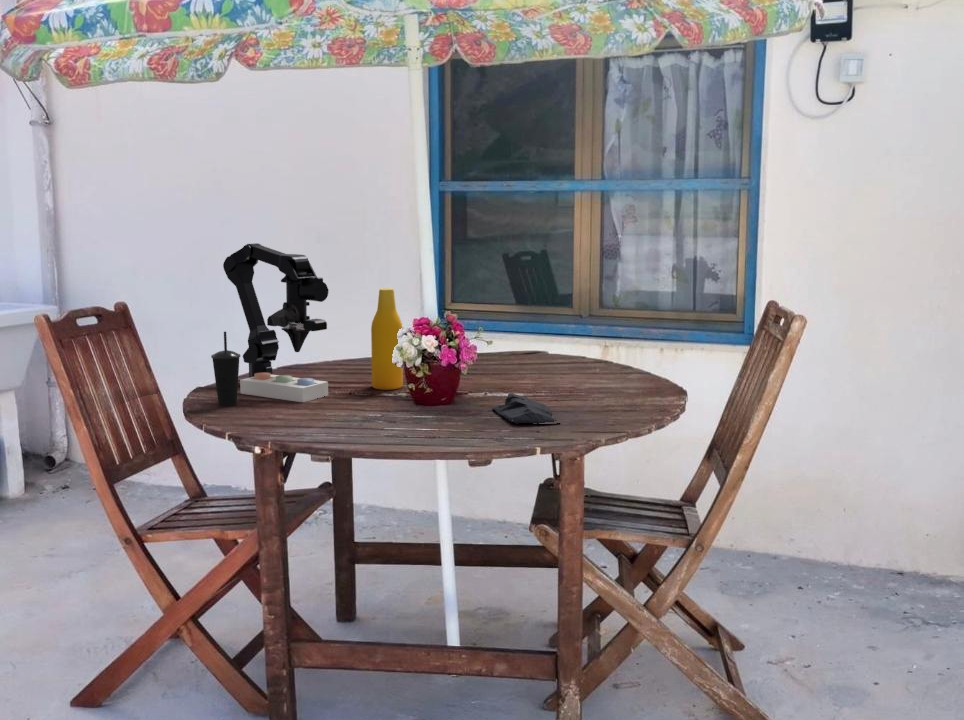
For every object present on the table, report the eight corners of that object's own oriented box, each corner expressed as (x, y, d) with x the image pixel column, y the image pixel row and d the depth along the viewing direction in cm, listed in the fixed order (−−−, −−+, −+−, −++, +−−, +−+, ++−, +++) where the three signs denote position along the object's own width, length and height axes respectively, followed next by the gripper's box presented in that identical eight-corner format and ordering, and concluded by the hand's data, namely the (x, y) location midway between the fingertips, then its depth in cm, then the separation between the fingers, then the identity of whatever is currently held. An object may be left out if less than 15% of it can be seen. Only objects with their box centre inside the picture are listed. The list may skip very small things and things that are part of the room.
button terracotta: (251, 391, 308) (250, 374, 307) (262, 388, 312) (261, 371, 311) (263, 393, 306) (263, 375, 305) (274, 390, 310) (274, 373, 309)
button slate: (294, 397, 300) (293, 379, 299) (305, 394, 304) (304, 377, 303) (307, 399, 298) (306, 381, 297) (317, 396, 301) (317, 379, 301)
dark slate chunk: (503, 428, 267) (503, 410, 266) (490, 409, 289) (490, 392, 288) (563, 427, 269) (564, 408, 269) (546, 408, 291) (546, 391, 290)
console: (240, 393, 306) (240, 379, 305) (266, 387, 315) (266, 373, 315) (302, 402, 294) (302, 388, 294) (328, 395, 304) (328, 381, 303)
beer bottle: (365, 386, 317) (364, 288, 312) (390, 382, 323) (389, 287, 318) (384, 391, 310) (383, 291, 306) (409, 387, 316) (408, 289, 312)
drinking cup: (216, 401, 294) (214, 329, 291) (244, 401, 295) (242, 329, 291) (210, 407, 287) (207, 333, 284) (238, 407, 287) (236, 333, 284)
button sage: (272, 394, 304) (272, 377, 303) (283, 391, 308) (283, 374, 307) (284, 396, 302) (284, 378, 301) (295, 393, 306) (295, 376, 305)
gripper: (253, 298, 308) (254, 352, 311) (301, 304, 298) (301, 359, 301) (280, 295, 317) (281, 347, 320) (328, 300, 307) (328, 354, 310)
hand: (297, 352), depth 312 cm, fingers closed
